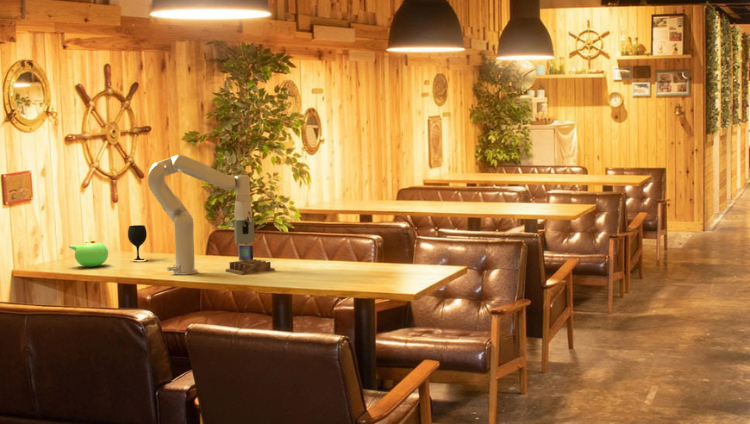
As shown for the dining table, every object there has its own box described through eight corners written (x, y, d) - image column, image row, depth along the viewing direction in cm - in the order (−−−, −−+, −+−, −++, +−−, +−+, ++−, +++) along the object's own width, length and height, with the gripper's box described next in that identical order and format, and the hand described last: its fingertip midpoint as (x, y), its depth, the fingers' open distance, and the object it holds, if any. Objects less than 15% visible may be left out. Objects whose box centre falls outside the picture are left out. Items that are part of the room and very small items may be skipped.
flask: (237, 260, 539) (237, 241, 538) (240, 259, 542) (240, 241, 541) (251, 261, 535) (251, 242, 534) (254, 260, 538) (254, 241, 537)
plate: (236, 243, 496) (236, 220, 494) (234, 243, 497) (233, 220, 496) (254, 241, 503) (253, 219, 502) (252, 241, 504) (251, 218, 503)
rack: (241, 274, 486) (241, 265, 485) (225, 271, 498) (225, 262, 497) (274, 270, 498) (274, 261, 498) (258, 267, 511) (257, 258, 510)
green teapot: (87, 269, 510) (85, 242, 509) (68, 267, 521) (67, 240, 519) (114, 265, 525) (113, 239, 523) (95, 263, 535) (94, 237, 534)
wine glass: (127, 260, 545) (125, 225, 544) (145, 259, 550) (144, 224, 548) (130, 262, 536) (129, 227, 534) (149, 261, 540) (148, 226, 539)
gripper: (228, 198, 501) (230, 233, 503) (245, 199, 489) (246, 235, 491) (240, 197, 506) (241, 232, 508) (257, 198, 494) (258, 234, 496)
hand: (244, 233), depth 499 cm, fingers closed on plate, 2 cm apart
